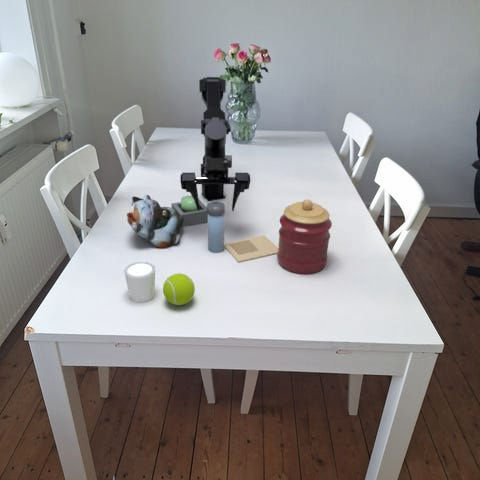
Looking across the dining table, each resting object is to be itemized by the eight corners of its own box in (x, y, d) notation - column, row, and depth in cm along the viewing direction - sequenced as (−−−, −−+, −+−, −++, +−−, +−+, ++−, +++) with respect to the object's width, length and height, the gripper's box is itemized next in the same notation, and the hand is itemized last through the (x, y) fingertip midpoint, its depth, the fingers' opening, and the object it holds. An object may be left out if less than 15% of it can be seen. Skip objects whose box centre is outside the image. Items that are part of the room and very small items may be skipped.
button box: (199, 210, 148) (198, 199, 146) (209, 222, 140) (209, 210, 138) (172, 215, 144) (171, 203, 142) (181, 227, 137) (181, 215, 135)
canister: (314, 280, 114) (321, 216, 105) (267, 265, 120) (271, 202, 111) (334, 258, 124) (342, 197, 115) (290, 244, 130) (295, 185, 121)
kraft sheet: (264, 236, 133) (264, 234, 133) (281, 252, 125) (281, 251, 125) (222, 245, 128) (222, 243, 128) (238, 262, 120) (238, 261, 120)
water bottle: (220, 243, 129) (220, 200, 123) (227, 250, 126) (227, 207, 119) (205, 246, 127) (204, 203, 121) (211, 254, 124) (211, 210, 118)
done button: (195, 206, 144) (195, 194, 142) (202, 213, 140) (201, 201, 138) (179, 209, 142) (178, 197, 140) (185, 216, 138) (184, 204, 136)
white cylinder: (128, 286, 110) (126, 261, 106) (158, 286, 110) (156, 261, 107) (125, 304, 104) (121, 278, 100) (156, 303, 104) (154, 277, 101)
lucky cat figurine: (175, 252, 124) (147, 214, 116) (140, 259, 129) (110, 224, 121) (190, 214, 135) (165, 178, 126) (157, 223, 140) (130, 188, 132)
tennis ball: (173, 315, 101) (171, 288, 97) (158, 299, 106) (156, 273, 102) (200, 304, 104) (200, 278, 101) (185, 289, 109) (184, 264, 106)
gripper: (179, 143, 120) (178, 199, 116) (250, 143, 122) (252, 199, 117) (182, 162, 131) (181, 214, 127) (247, 162, 132) (249, 214, 128)
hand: (215, 210), depth 124 cm, fingers open, 9 cm apart
